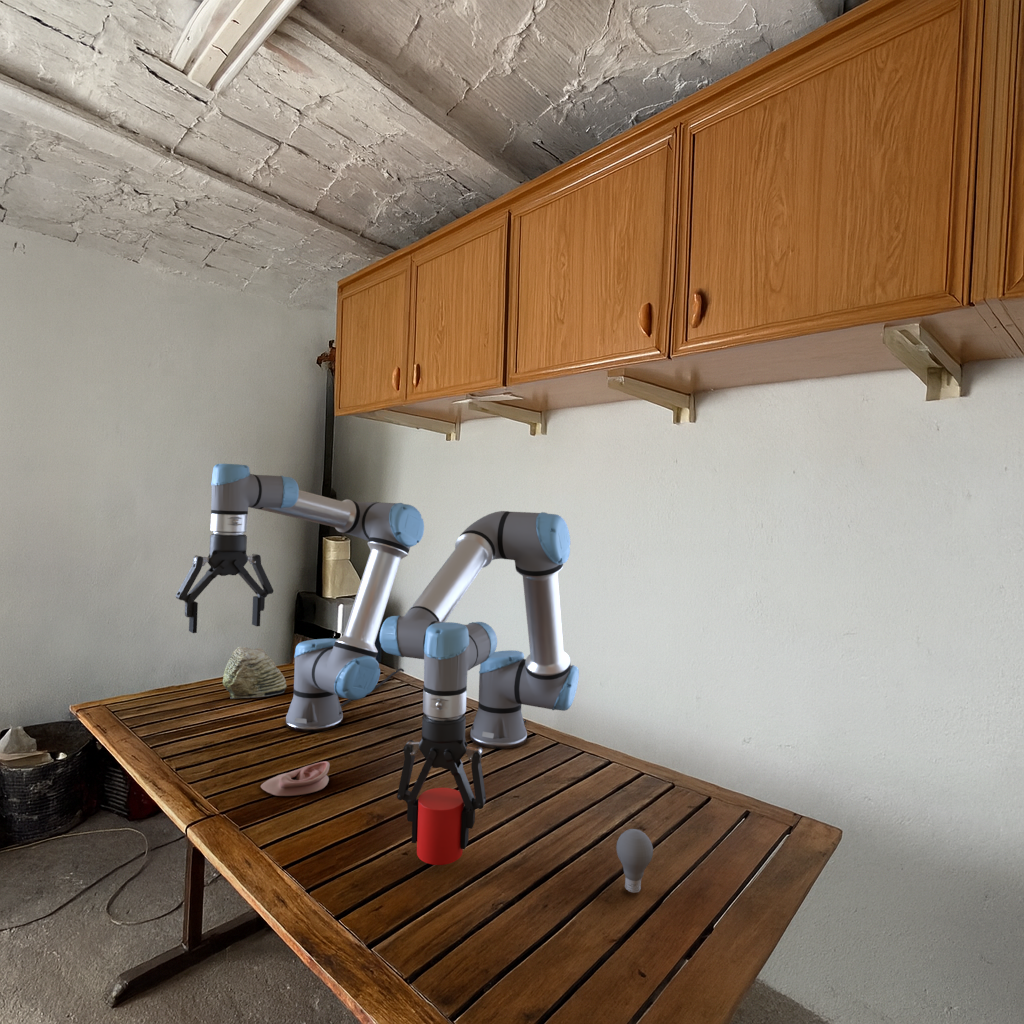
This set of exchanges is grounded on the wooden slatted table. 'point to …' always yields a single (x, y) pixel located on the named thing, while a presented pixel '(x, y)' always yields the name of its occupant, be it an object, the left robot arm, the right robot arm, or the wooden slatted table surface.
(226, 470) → the left robot arm
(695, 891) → the wooden slatted table surface
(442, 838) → the cylinder
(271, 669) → the fossil
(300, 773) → the anatomical model
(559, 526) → the right robot arm
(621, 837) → the light bulb
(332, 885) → the wooden slatted table surface
